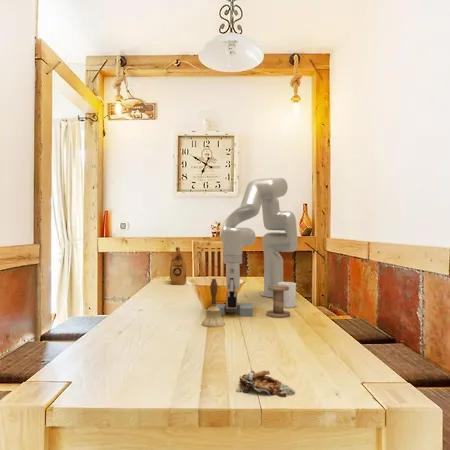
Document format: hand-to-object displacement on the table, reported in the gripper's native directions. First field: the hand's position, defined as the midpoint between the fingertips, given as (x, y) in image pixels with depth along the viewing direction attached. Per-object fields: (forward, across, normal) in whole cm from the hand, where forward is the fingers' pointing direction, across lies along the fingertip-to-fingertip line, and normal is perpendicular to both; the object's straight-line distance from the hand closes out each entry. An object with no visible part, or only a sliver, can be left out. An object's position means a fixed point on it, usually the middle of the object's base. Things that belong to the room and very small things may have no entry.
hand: (232, 305), depth 151 cm
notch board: (+3, +2, 0) cm, 4 cm away
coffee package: (+3, +79, +36) cm, 87 cm away
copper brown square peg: (+1, 0, 0) cm, 1 cm away
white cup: (+3, +17, -23) cm, 29 cm away
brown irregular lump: (+4, -69, -10) cm, 70 cm away
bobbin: (+3, 0, -18) cm, 18 cm away
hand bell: (+4, -16, +6) cm, 17 cm away
